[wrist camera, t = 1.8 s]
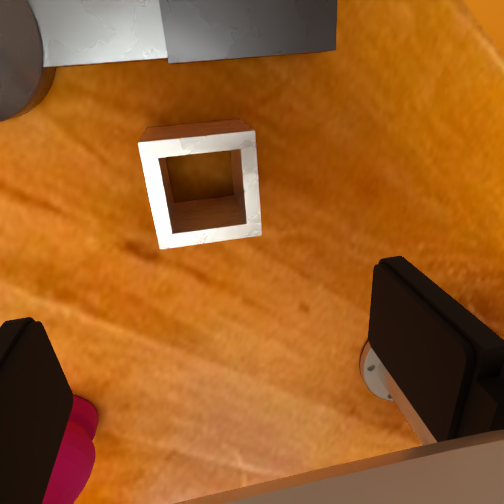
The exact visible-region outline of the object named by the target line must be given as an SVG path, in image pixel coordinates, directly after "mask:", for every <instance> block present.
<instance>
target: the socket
mask: <svg viewBox="0 0 504 504" xmlns="http://www.w3.org/2000/svg"><path fill="white" fill-rule="evenodd" d="M138 147H139V151H140V156H141V161H142V166H143V171H144V175H145V180H146V185H147V190H148V194H149V199H150V204H151V209H152V214H153V218H154V223H155V228H156V233H157V237H158V242H159V247H160V249H167V248H174V247H182V246H189V245H196V244H203V243H210V242H217V241H224V240H231V239H239V238H246V237H253V236H260V235H262V228H261V213H260V198H259V183H258V167H257V152H256V137H255V130H254V129H252V128H251V127H250V126H248V125H247V124H246V123H245V122H243V121H242V120H241V119H230V120H220V121H210V122H200V123H190V124H179V125H169V126H159V127H149V128H146V130H145V131H144V133H143V135H142V136H141V138H140V140H139V141H138ZM225 150H230V158H231V168H232V178H233V189H234V195H232V196H224V197H216V198H208V199H200V200H192V201H184V202H176V203H174V201H173V196H172V190H171V185H170V179H169V174H168V168H167V162H166V157H170V156H180V155H189V154H198V153H207V152H216V151H225Z"/></svg>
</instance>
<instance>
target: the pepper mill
mask: <svg viewBox="0 0 504 504" xmlns="http://www.w3.org/2000/svg"><path fill="white" fill-rule="evenodd" d="M97 424H98V414H97V411H96V409H95V408H94V406H93V405H91V404H90V403H89V402H88V401H87V400H84V399H82V398H80V397H77V396H73V408H72V411H71V414H70V417H69V420H68V423H67V427H66V430H65V433H64V436H63V439H62V442H61V445H60V449H59V452H58V455H57V458H56V461H55V464H54V467H53V471H52V474H51V477H50V480H49V483H48V486H47V489H46V493H45V496H44V499H43V502H42V504H73V503H74V502H75V500H76V499H77V497H78V496H79V494H80V493H81V492H82V490H83V488H84V487H85V485H86V483H87V481H88V479H89V477H90V474H91V471H92V468H93V465H94V462H95V447H94V444H93V442H92V440H93V438H94V436H95V432H96V428H97Z"/></svg>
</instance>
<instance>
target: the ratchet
mask: <svg viewBox="0 0 504 504" xmlns="http://www.w3.org/2000/svg"><path fill="white" fill-rule="evenodd" d="M336 23H337V0H0V122H1V121H5V120H8V119H12V118H15V117H18V116H21V115H23V114H25V113H27V112H29V111H30V110H32V109H33V108H35V107H36V106H37V105H38V104H39V103H40V102H41V101H42V100H43V99H44V97H45V96H46V94H47V93H48V91H49V89H50V87H51V85H52V82H53V79H54V76H55V71H56V67H69V66H82V65H95V64H108V63H121V62H135V61H148V60H161V59H168V62H169V64H178V63H191V62H204V61H217V60H230V59H242V58H255V57H268V56H281V55H294V54H307V53H319V52H326V51H333V50H336Z"/></svg>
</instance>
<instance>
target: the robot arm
mask: <svg viewBox="0 0 504 504" xmlns="http://www.w3.org/2000/svg"><path fill="white" fill-rule="evenodd" d="M368 339H369V341H368V342H367V344H366V346H365V347H364V350H363V353H362V356H361V361H360V372H361V376H362V378H363V381H364V382H365V384H366V385H367V387H368V389H369V390H370V391H371V392H372V393H373V394H374V395H376V396H378V397H380V398H382V399H385V400H388V401H394V402H395V403H396V405H397V407H398V408H399V410H400V411H401V413H402V414H403V416H404V417H405V419H406V420H407V422H408V423H409V425H410V426H411V428H412V430H413V431H414V433H415V434H416V436H417V437H418V439H419V440H420V442H421V443H422V445H423V446H419V447H415V448H410V449H406V450H402V451H397V452H393V453H389V454H384V455H380V456H376V457H371V458H367V459H363V460H358V461H354V462H349V463H345V464H341V465H336V466H332V467H328V468H323V469H319V470H315V471H310V472H306V473H302V474H298V475H293V476H289V477H285V478H281V479H276V480H272V481H268V482H264V483H259V484H255V485H251V486H247V487H242V488H238V489H234V490H230V491H225V492H221V493H217V494H213V495H208V496H204V497H200V498H196V499H192V500H187V501H183V502H179V503H175V504H504V340H503V339H502V338H500V337H499V336H498V335H497V334H496V333H494V332H493V331H492V330H491V329H490V328H488V327H487V326H486V325H485V324H484V323H482V322H481V321H480V320H479V319H477V318H476V317H475V316H474V315H473V314H471V313H470V312H469V311H468V310H467V309H465V308H464V307H463V306H462V305H461V304H459V303H458V302H457V301H456V300H454V299H453V298H452V297H451V296H450V295H448V294H447V293H446V292H445V291H444V290H442V289H441V288H440V287H439V286H438V285H436V284H435V283H434V282H433V281H431V280H430V279H429V278H428V277H427V276H425V275H424V274H423V273H422V272H421V271H419V270H418V269H417V268H416V267H415V266H413V265H412V264H411V263H410V262H408V261H407V260H406V259H405V258H404V257H402V256H395V257H389V258H383V259H381V260H380V261H379V264H377V265H375V266H374V270H373V282H372V295H371V307H370V319H369V331H368ZM72 408H73V394H72V391H71V389H70V386H69V384H68V382H67V379H66V377H65V375H64V372H63V370H62V368H61V366H60V363H59V361H58V359H57V356H56V354H55V352H54V349H53V347H52V345H51V342H50V340H49V338H48V336H47V333H46V331H45V329H44V326H43V325H42V323H41V322H39V321H36V322H35V320H34V319H33V318H31V317H27V318H21V319H15V320H9V321H5V322H4V323H3V324H2V326H1V327H0V504H42V502H43V499H44V496H45V493H46V489H47V486H48V483H49V480H50V477H51V474H52V471H53V467H54V464H55V461H56V458H57V455H58V452H59V449H60V445H61V442H62V439H63V436H64V433H65V430H66V427H67V423H68V420H69V417H70V414H71V411H72Z"/></svg>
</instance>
